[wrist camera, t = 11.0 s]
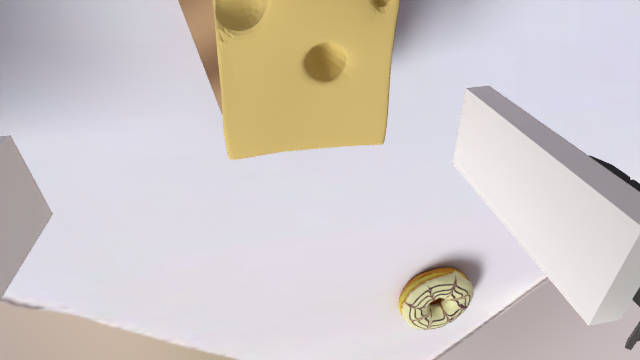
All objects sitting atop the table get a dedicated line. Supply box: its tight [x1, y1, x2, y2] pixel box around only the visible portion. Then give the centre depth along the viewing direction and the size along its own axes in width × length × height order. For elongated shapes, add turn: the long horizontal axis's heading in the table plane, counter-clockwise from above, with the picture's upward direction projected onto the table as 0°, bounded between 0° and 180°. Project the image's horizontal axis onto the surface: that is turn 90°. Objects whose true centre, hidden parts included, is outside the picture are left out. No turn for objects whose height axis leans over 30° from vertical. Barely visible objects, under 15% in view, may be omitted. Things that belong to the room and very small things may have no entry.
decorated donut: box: [398, 267, 473, 330], centre depth 57 cm, size 10×11×4 cm
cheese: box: [212, 0, 400, 159], centre depth 26 cm, size 10×11×10 cm
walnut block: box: [178, 0, 223, 115], centre depth 33 cm, size 13×13×6 cm
